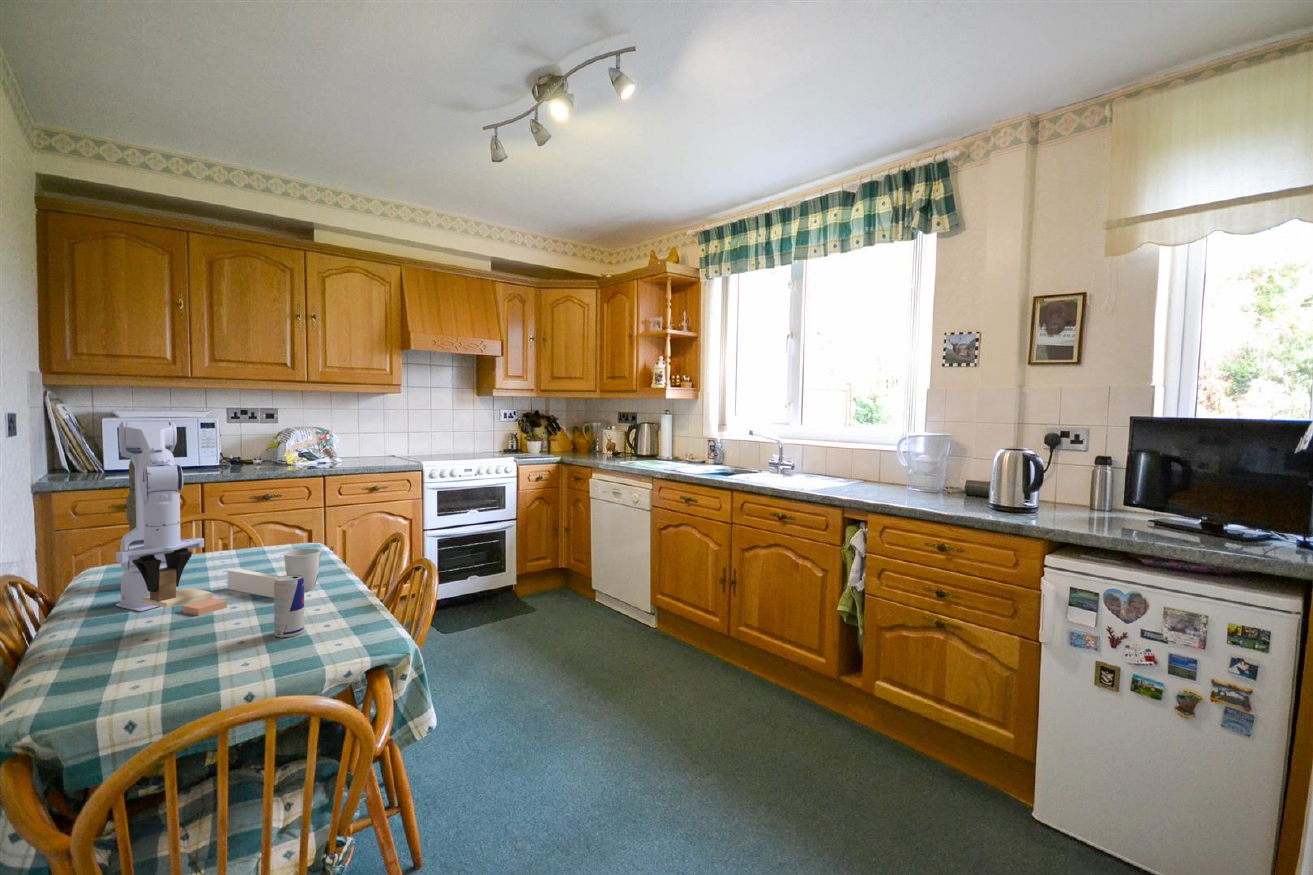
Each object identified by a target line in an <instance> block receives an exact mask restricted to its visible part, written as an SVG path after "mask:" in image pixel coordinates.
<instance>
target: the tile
mask: <svg viewBox="0 0 1313 875" xmlns="http://www.w3.org/2000/svg"><path fill="white" fill-rule="evenodd" d="M227 604H228V603H227V600H223V599H220V598H215V597H214V598H213V597H210V598H206V599H202V600H198V601H194V602H190V603H186V604H182V605H181V613H185V614H189V615H192V616H203V615H206V614H210V613H213V612H216V611H220V610H223V609H227V607H228V605H227Z"/></svg>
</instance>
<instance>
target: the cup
mask: <svg viewBox="0 0 1313 875" xmlns="http://www.w3.org/2000/svg"><path fill="white" fill-rule="evenodd" d="M283 555H284V567H285V575H292V574H299V575H303V578H304V593H305V592H306V593H307V592H310V591H312V590H314V589H315V588H316V583H317V581H318V578H319V572H320V563H321V549H320V548H313V547H312V548H310V547H309V548H299V549H292V550H288V551H286V552H285V553H284V554H283Z"/></svg>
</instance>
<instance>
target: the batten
mask: <svg viewBox="0 0 1313 875" xmlns="http://www.w3.org/2000/svg"><path fill="white" fill-rule="evenodd" d="M226 571H227V574H226V575H227V590H231V591H237V592H241V593H246V594H253V595H257V596H262V597H267V598H270V599H274V582H275V579H276V578H278V577H280V576H281V575H275V574H270V573H264V572H258V571H254V570H248V569H247V570H246V569H240V568H231V569H228V570H226Z"/></svg>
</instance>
